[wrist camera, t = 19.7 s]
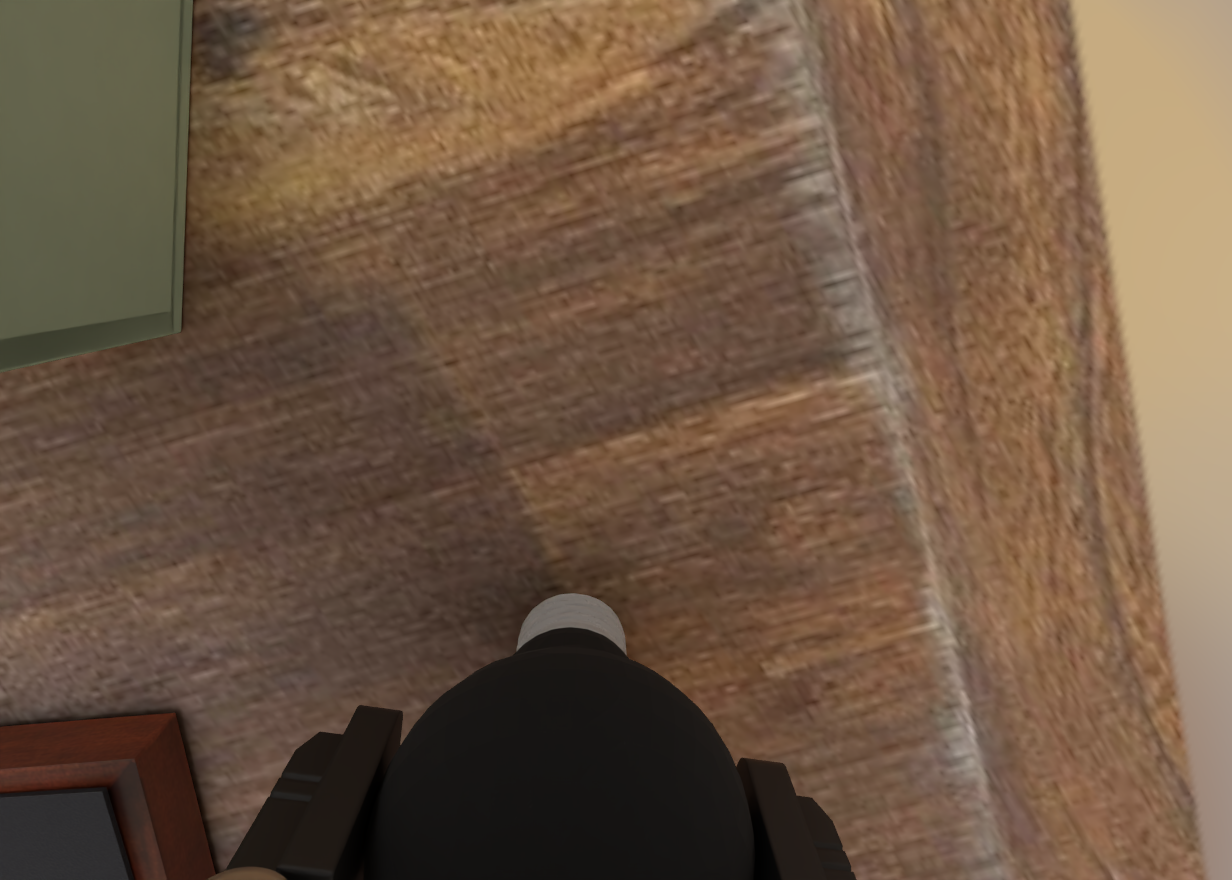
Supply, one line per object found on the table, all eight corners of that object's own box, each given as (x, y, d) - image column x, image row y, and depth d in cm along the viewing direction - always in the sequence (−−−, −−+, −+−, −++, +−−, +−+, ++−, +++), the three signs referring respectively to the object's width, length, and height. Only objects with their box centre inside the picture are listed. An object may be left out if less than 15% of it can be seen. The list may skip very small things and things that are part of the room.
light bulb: (667, 485, 18) (757, 774, 8) (712, 702, 19) (834, 1163, 10) (423, 538, 18) (228, 882, 8) (486, 749, 20) (383, 1248, 10)
